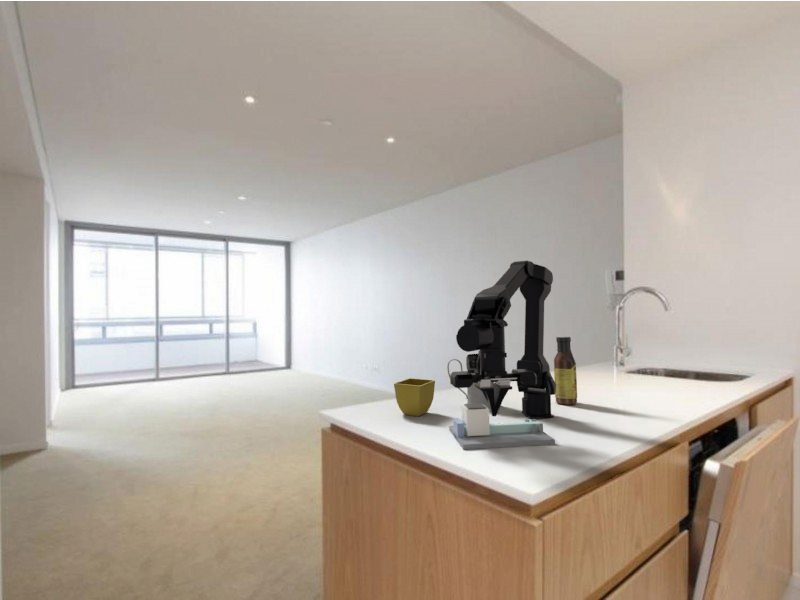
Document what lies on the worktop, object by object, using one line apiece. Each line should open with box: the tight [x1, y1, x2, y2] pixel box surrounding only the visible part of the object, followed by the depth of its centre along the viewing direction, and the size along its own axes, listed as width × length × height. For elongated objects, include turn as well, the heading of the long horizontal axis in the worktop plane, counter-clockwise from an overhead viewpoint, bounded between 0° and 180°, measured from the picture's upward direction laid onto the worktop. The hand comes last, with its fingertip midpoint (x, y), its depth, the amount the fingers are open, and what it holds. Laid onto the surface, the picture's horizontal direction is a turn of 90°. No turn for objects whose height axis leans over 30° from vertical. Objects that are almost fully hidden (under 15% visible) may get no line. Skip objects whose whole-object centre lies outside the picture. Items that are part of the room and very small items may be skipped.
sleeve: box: [461, 403, 490, 436], centre depth 97 cm, size 5×5×6 cm
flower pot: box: [393, 377, 436, 417], centre depth 120 cm, size 9×9×9 cm
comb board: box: [448, 418, 556, 450], centre depth 98 cm, size 20×14×4 cm
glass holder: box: [447, 353, 495, 409], centre depth 129 cm, size 9×14×15 cm, turn 74°
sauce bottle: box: [553, 336, 578, 406], centre depth 129 cm, size 6×6×20 cm
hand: (493, 416), depth 98 cm, fingers closed
